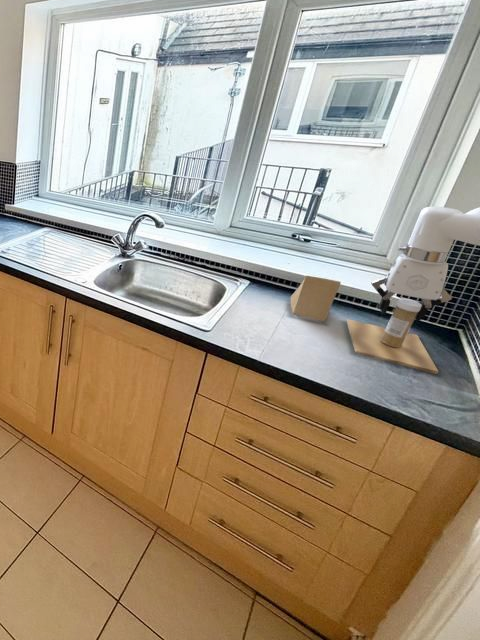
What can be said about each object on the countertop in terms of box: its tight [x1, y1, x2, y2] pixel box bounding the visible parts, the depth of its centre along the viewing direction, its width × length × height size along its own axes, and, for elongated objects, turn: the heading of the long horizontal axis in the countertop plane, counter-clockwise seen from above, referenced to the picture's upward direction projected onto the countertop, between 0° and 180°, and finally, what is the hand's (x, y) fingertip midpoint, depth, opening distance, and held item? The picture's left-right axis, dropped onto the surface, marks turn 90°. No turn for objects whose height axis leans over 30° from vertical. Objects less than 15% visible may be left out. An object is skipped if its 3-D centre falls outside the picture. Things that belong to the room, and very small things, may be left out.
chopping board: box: [345, 318, 439, 375], centre depth 119 cm, size 16×22×2 cm
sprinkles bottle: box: [380, 298, 422, 348], centre depth 115 cm, size 5×5×13 cm
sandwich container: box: [290, 275, 341, 322], centre depth 136 cm, size 9×15×15 cm, turn 148°
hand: (399, 314), depth 116 cm, fingers open, 6 cm apart
